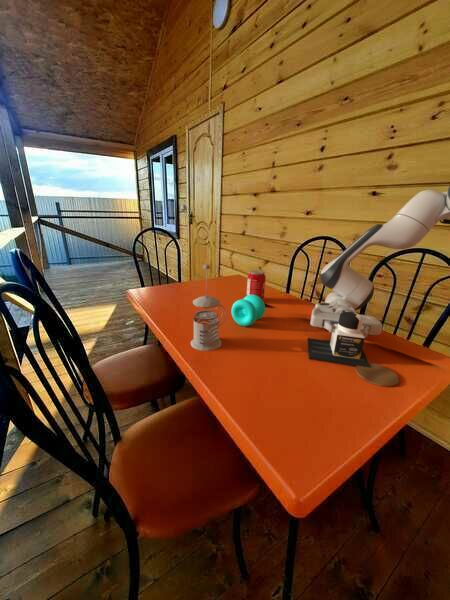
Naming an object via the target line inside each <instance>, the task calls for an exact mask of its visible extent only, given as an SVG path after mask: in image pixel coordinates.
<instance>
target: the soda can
mask: <svg viewBox="0 0 450 600" xmlns="http://www.w3.org/2000/svg"><path fill="white" fill-rule="evenodd" d="M266 278H267V275H266V272H265V271H263V270H259V269H253V270H250V271H249V273H248V274H247V279H246V294H245V297H246V296H248V295H256V296H258V297H260V298H261V299H262V300H263V302H264V301H265V291H266ZM264 303H265V302H264Z"/></svg>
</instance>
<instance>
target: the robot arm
mask: <svg viewBox="0 0 450 600" xmlns="http://www.w3.org/2000/svg"><path fill="white" fill-rule="evenodd" d="M438 223H441V224H443V225H450V185H449V186H448V190H447V191H439V190H435V189H424V190H421V191H419V192H418V193H416V194H415V195H413V196H412V197H411V198H410V199H409V200H408V201H407V202H406V203H405V204H404V205H403V206H402V207H401V208H400V209H399V210H398V211H397V213H396V214H395V215H394V216H393V217H392V218H391V219H389V220H388V221H387V222H385V223H383V224H382V223H381V224H380V223H379V224H378V223H377V224H375V225H373V226H371V227H370V228H369V229H367V230H366V231H365V232H364V233H362V234H361V235H359V237H357V239H355V240H354V241H353V242H352V243H350V245H348V247H347V248H345V249H344V250H343V251H342V252H341V253H340V254H339V255H337V256H336V257H335V258H334V259H332V260H331V261H330V262H329V263H327V264H325V266H324V267H323V268H322V269H321V271H320V273H319V279H320V282H321V285H323V286H324V287H326V288H328V289H330V290H332V292H330V293H328V294H327V295H326V298H325V300H324V302H317V303H315V306H314V308H313V309H312V311H311V316H310V321H309V322H310V323H309V325H310V326H311V327H313V328H321V329H326V330H327V331H328V333H331V334H332V333H335V329H336V327H335V326H334V324H338V322H339V317H340V314H341V313H343V312H353V313H357V312H356V311H358V310H361V309H362V308H364V307H365V306H366V305H368V304H369V302H371V300H372V299H373V297H374V292H375V285H374V282H372V281H371V280H370V279H369V278H367V277H366V276H364V275H362V274H360V273H359V272H358V271H356V270H355V269H354V268H352V267H351V266H350V263H352V261H353V260H355V259H356V258H358V256H359V255H361V254H362V253H363V252H364V251H365V250H367V249H368V248H370V247H372V246H379V247H383V248H388V249H393V250H407V249H411V248H413V247H415V246H416V245H418V244H419V243H420V242H421V241H422V240H423V239H424V238H425V237H426V236H427V235H428V233H430V232H431V230H432V229H433V228H434V227H435V226H436V225H437V224H438ZM358 314H359V313H358ZM359 315H361V316H362V317H363V323H362V327H361V332H362V333H363V335H364V337H365V339H366V338H368V335H371V336H372V335H373V336H379V335H381V333H382V331H383V330H382V329H383V323H382V322H381V320H378V319H377V318H376V317H375V316H372V315H367V314H359Z"/></svg>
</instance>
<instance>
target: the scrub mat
mask: <svg viewBox="0 0 450 600" xmlns="http://www.w3.org/2000/svg"><path fill="white" fill-rule="evenodd" d="M330 341H331V340H325V339H324V340H323V339H318V338H310V337H308V338H307V349H308V351H307V352H308V353H307V354H308V359H309V360H313V361H319V362H324V363H331V364H336V365H342V366H349V367H353V368H356V366H363V367H369V368H370V367H371V366H370V364H369V363H370V362H369V360H368V358H367V355H366V353H365V352H364V349H363V348H362V352H361V356H360V359H353V358H347V357H340V356H334V355H333V353H332V349H331V346H330Z"/></svg>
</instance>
